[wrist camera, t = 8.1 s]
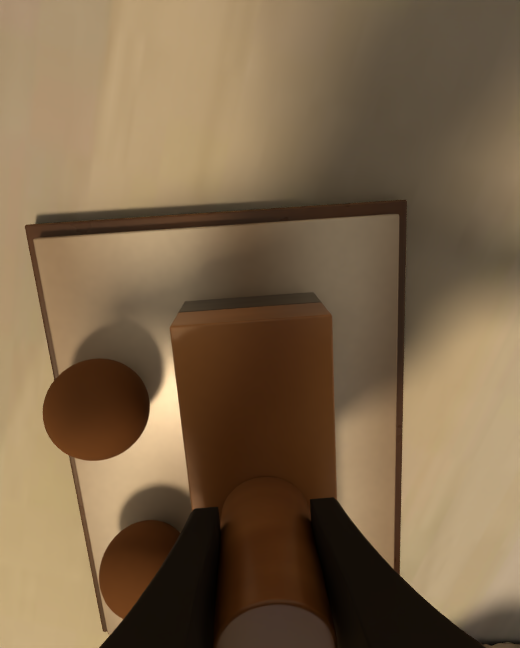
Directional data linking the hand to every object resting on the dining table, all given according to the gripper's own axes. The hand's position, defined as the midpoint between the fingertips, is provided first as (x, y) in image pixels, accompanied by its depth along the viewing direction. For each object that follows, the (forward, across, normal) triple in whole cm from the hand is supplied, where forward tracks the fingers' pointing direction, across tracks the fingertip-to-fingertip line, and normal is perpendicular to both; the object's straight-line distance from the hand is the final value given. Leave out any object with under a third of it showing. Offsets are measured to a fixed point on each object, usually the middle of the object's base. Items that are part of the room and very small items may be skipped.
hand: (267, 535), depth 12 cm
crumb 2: (+3, +4, +3) cm, 6 cm away
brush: (+4, 0, 0) cm, 4 cm away
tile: (+6, +1, 0) cm, 6 cm away
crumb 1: (+3, +5, -3) cm, 6 cm away
